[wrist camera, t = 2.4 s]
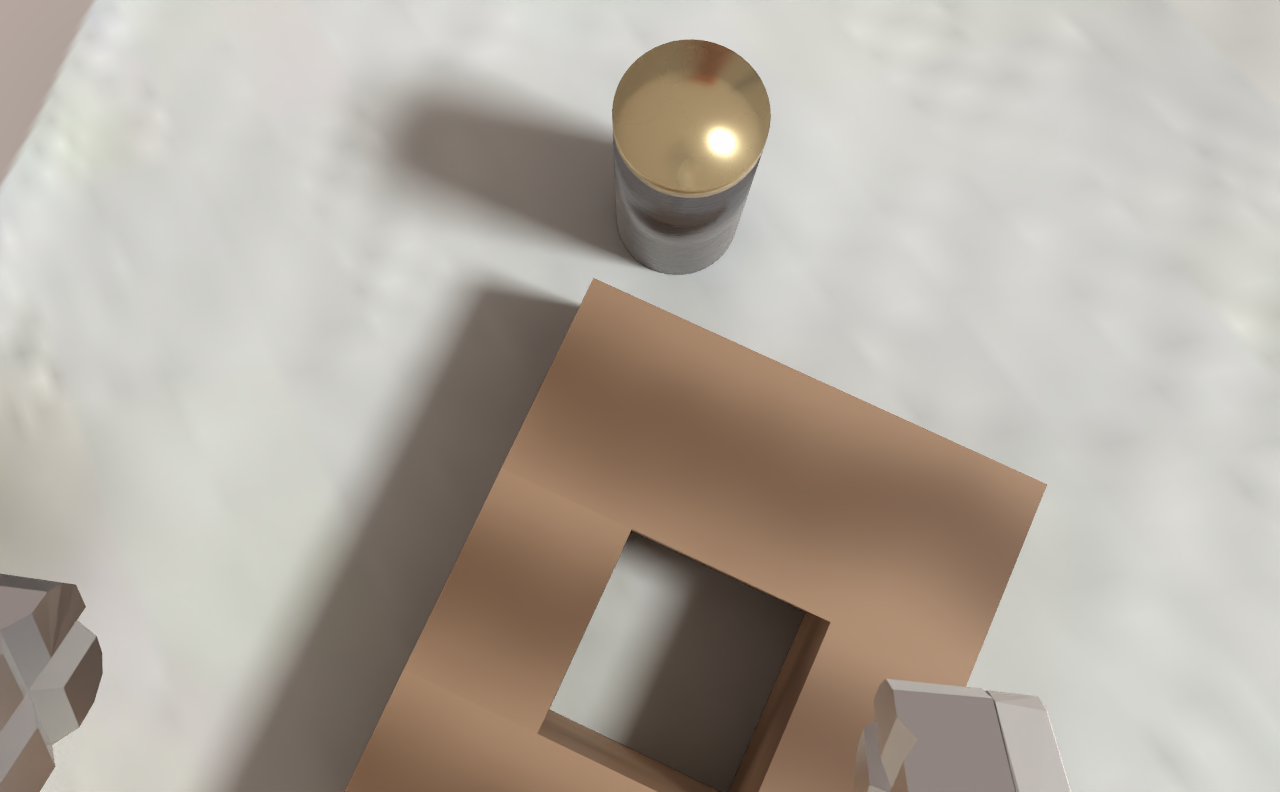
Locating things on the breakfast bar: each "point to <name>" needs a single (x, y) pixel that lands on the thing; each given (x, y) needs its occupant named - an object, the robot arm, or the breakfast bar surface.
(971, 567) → the chuck block
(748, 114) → the key peg
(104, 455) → the breakfast bar surface
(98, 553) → the breakfast bar surface
